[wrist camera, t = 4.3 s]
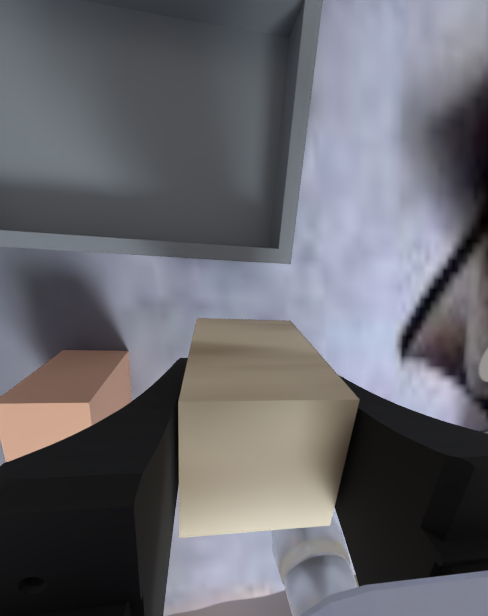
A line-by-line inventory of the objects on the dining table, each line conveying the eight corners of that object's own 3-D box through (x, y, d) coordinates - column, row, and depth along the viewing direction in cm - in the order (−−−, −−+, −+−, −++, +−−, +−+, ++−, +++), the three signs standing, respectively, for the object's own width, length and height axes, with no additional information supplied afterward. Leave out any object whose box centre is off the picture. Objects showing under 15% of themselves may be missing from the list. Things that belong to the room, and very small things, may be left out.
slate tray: (276, 258, 18) (290, 264, 14) (-34, 239, 15) (-105, 240, 12) (299, 35, 14) (325, -26, 11) (-99, -37, 12) (-226, -146, 8)
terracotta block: (131, 401, 20) (97, 470, 14) (71, 402, 19) (9, 474, 13) (128, 350, 18) (89, 402, 13) (63, 349, 18) (-9, 403, 12)
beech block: (280, 399, 13) (330, 525, 7) (195, 400, 13) (179, 537, 7) (290, 320, 12) (359, 399, 6) (197, 318, 11) (178, 401, 6)
